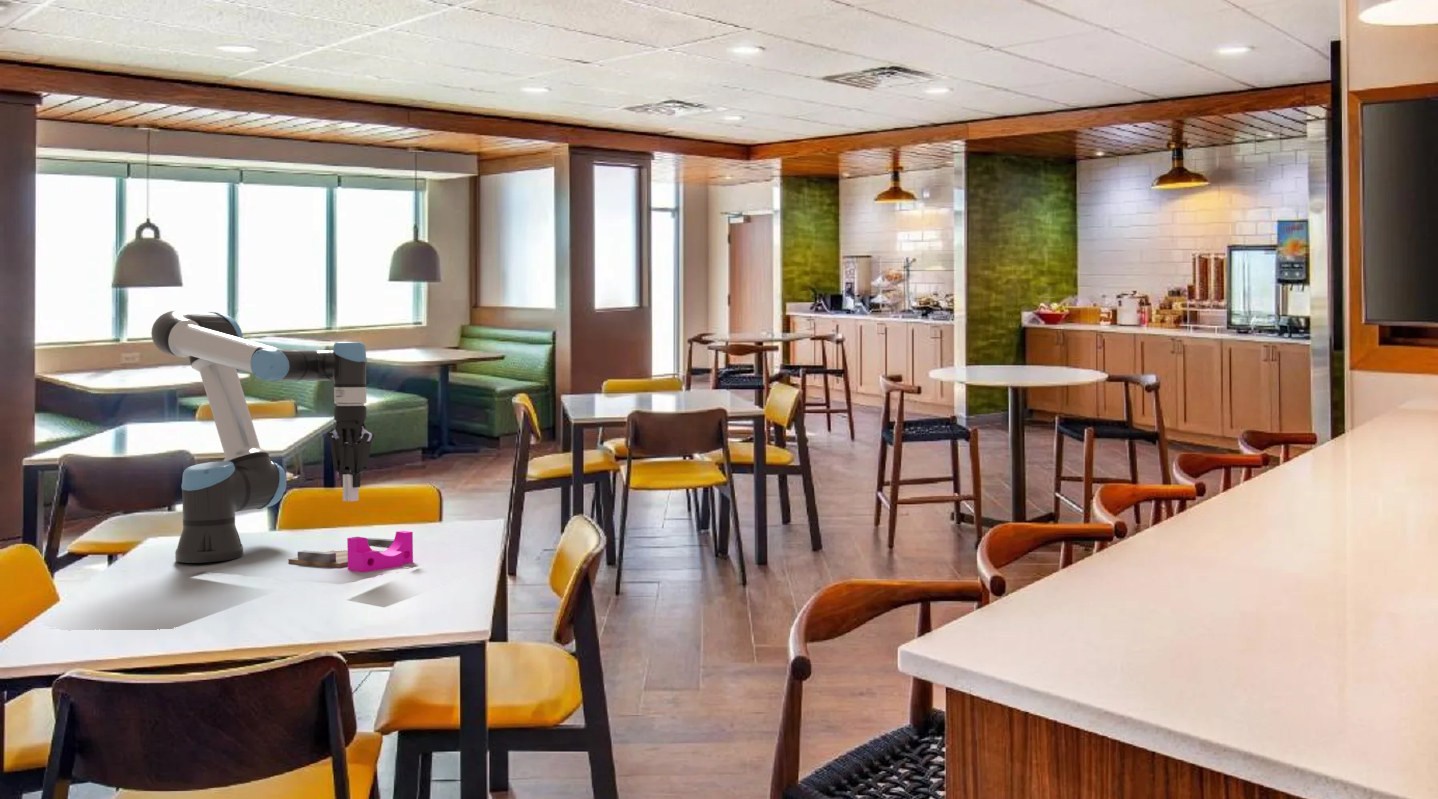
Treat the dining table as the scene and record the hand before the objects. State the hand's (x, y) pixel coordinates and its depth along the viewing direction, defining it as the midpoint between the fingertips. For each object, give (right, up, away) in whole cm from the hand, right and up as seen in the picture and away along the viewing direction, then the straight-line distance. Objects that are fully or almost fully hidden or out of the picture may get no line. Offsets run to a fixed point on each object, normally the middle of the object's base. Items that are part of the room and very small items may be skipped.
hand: (350, 500), depth 262 cm
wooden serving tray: (0, -14, 0) cm, 14 cm away
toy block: (+12, -15, -12) cm, 23 cm away
